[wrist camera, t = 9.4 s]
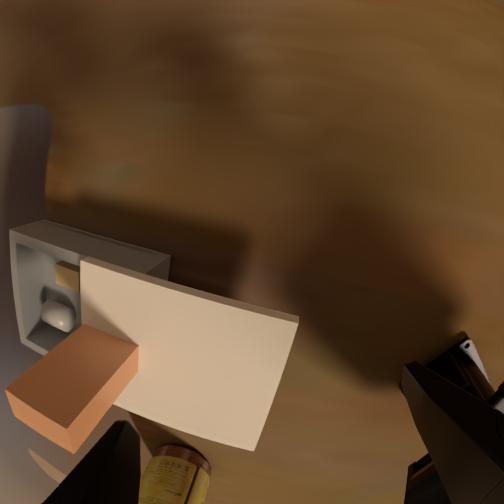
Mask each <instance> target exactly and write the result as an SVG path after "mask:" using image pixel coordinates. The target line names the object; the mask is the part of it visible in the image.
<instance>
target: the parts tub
mask: <svg viewBox="0 0 504 504" xmlns="http://www.w3.org/2000/svg"><path fill="white" fill-rule="evenodd" d="M10 255H11V270H12V282H13V292H14V300H15V308H16V314H17V321H18V327H19V333H20V339H21V343H23V344H24V345H26V346H28V347H29V348H31V349H33V350H34V351H36V352H38V353H40V354H41V355H43V356H44V355H46V354H47V353H48V352H49V351H51V350H52V349H53V348H54V347H55V346H57V345H58V344H59V343H60V342H62V341H63V340H64V339H65V338H67V337H68V336H69V335H70V334H72V333H73V332H74V331H75V330H77V329H78V328H79V327H80V326H82V321H81V293H80V260H82V259H84V258H86V257H88V256H89V257H92V258H95V259H98V260H101V261H104V262H107V263H111V264H114V265H117V266H120V267H123V268H126V269H130V270H133V271H136V272H139V273H143V274H146V275H149V276H153V277H156V278H159V279H163V280H166V281H168V276H169V268H170V260H171V255H169V254H165V253H162V252H158V251H154V250H151V249H147V248H143V247H140V246H136V245H133V244H129V243H125V242H122V241H118V240H115V239H111V238H108V237H104V236H101V235H97V234H94V233H90V232H87V231H83V230H80V229H76V228H73V227H69V226H66V225H63V224H59V223H56V222H52V221H49V220H45V219H42V220H39V221H35V222H32V223H29V224H26V225H22V226H19V227H16V228H13V229H10Z"/></svg>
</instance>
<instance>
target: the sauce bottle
mask: <svg viewBox="0 0 504 504" xmlns="http://www.w3.org/2000/svg"><path fill="white" fill-rule="evenodd" d="M210 474H211V466H210V465H209V463H208V462H207V461H206V460H205V459H204V458H203V457H202V456H201V455H200V454H198V453H196V452H195V451H193V450H190V449H188V448H185V447H182V446H177V445H164V446H162V447H159V448H158V449H157V450H156V452H155V454H154V456H153V458H151V460H150V461H149V463H148V465H147V467H146V469H145V471H144V473H143V475H142V477H141V480H140V489H139V502H138V504H203V502H204V499H205V495H206V492H207V489H208V485H209V481H210V479H209V476H210Z"/></svg>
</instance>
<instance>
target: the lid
mask: <svg viewBox="0 0 504 504" xmlns="http://www.w3.org/2000/svg"><path fill="white" fill-rule="evenodd" d="M80 293H81V321H82V326H80V327H79V328H78V329H77V330H75V331H74V332H73V333H72V334H70V335H69V336H68V337H67V338H65V339H64V340H63V341H62V342H60V343H59V344H58V345H57V346H55V347H54V348H53V349H52V350H51V351H49V352H48V353H47V354H46V355H44V356H43V357H42V358H41V359H40V360H39V361H37V362H36V363H35V364H34V365H32V366H31V367H30V368H29V369H28V370H26V371H25V372H24V373H23V374H22V375H20V376H19V377H18V378H17V379H16V380H15V381H13V382H12V383H11V384H10V385H9V386H8V387H6V388H5V391H6V394H7V397H8V400H9V403H10V405H11V408H12V411H13V413H14V416H15V417H17V418H18V419H19V420H21V421H22V422H24V423H25V424H26V425H28V426H29V427H31V428H33V429H34V430H35V431H37V432H39V433H40V434H41V435H43V436H45V437H46V438H48V439H49V440H51V441H53V442H54V443H56V444H58V445H59V446H61V447H63V448H64V449H66V450H68V451H70V452H71V453H73V454H75V453H76V451H77V450H78V448H79V447H80V446H81V445H82V443H83V442H84V441H85V439H86V438H87V437H88V435H89V434H90V433H91V432H92V430H93V429H94V428H95V426H96V425H97V424H98V422H99V421H100V420H101V419H102V417H103V416H104V415H105V413H106V412H107V411H108V409H109V408H110V407H111V406H112V404H114V405H116V406H119V407H121V408H123V409H125V410H128V411H130V412H133V413H135V414H137V415H140V416H142V417H145V418H148V419H150V420H153V421H155V422H158V423H161V424H163V425H166V426H169V427H172V428H175V429H178V430H181V431H183V432H186V433H190V434H193V435H196V436H199V437H202V438H205V439H209V440H212V441H216V442H219V443H223V444H226V445H230V446H234V447H238V448H242V449H246V450H250V451H254V450H255V447H256V445H257V442H258V439H259V437H260V434H261V432H262V429H263V426H264V424H265V421H266V418H267V415H268V413H269V410H270V407H271V404H272V402H273V399H274V396H275V393H276V390H277V387H278V385H279V382H280V379H281V376H282V373H283V370H284V367H285V364H286V361H287V358H288V355H289V352H290V349H291V346H292V343H293V340H294V337H295V333H296V330H297V327H298V324H299V316H296V315H292V314H288V313H284V312H280V311H276V310H272V309H268V308H264V307H260V306H256V305H252V304H249V303H245V302H241V301H237V300H234V299H230V298H226V297H222V296H219V295H215V294H212V293H208V292H204V291H201V290H197V289H194V288H190V287H187V286H183V285H180V284H176V283H173V282H169V281H166V280H163V279H159V278H156V277H153V276H149V275H146V274H143V273H139V272H136V271H133V270H130V269H126V268H123V267H120V266H117V265H114V264H111V263H107V262H104V261H101V260H98V259H95V258H92V257H89V256H88V257H86V258H84V259H82V260H80Z"/></svg>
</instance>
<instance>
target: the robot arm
mask: <svg viewBox="0 0 504 504" xmlns="http://www.w3.org/2000/svg"><path fill="white" fill-rule="evenodd" d="M466 343H468V344H467V345H466V346H465V344H466ZM399 387H400V390H401V392H402V393H403V395H404V396H405V397H406V399H407V402H408V405H409V408H410V411H411V413H412V416H413V419H414V422H415V425H416V427H417V429H418V432H419V434H420V436H421V438H422V440H423V442H424V444H425V446H426V448H427V450H428V452H429V453H428V454H426V455H425V456H424V457H422V458H421V459H420V460H418V461H417V462H414V463H412V464H411V465H410V466H409V467H408V475H407V484H406V492H405V500H404V504H504V382H503V383H502V384H501V385H500V386H499V387H498V388H499V389H498V390H497V391H496V392H495V391H494V389H493V388H492V386H491V385H490V382H489V380H488V377H487V375H486V372H485V370H484V367H483V365H482V363H481V360H480V358H479V356H478V353H477V351H476V349H475V346H474V344H473V342H472V341H471V339H470V338H468V337H467V338H464V339H462V340H461V341H460V342H458V343H457V344H456V345H454V346H453V347H452V348H450V349H449V350H448V351H446V352H445V353H444V354H442V355H441V356H439V357H438V358H436V359H435V360H434V361H432V362H431V363H429V364H428V365H426V366H423V365H422V364H420V363H418V362H416V361H413V362H410V363H407V364H405V365H404V366H403V370H402V381H401V383H400V385H399ZM140 470H141V469H140V436H139V434H138V432H137V431H136V430H135V429H134V427H133V426H132V425H131V424H130V423H129V421H127V420H118V421H116V422H114V424H113V425H112V426H111V427H110V428H109V429H108V430H107V432H106V433H105V434H104V435H103V436H102V437H101V438H100V439H99V441H98V442H97V443H96V444H95V445H94V446H93V447H92V449H91V450H90V451H89V452H88V453H87V454H86V455H85V456H84V458H83V459H82V460H81V461H80V462H79V463H78V464H77V465H76V467H75V468H74V469H73V470H72V471H71V472H70V473H69V474H68V476H67V477H66V478H65V479H64V480H63V481H62V482H61V483H60V485H59V487H57V488H56V489H55V490H54V491H53V492H52V493H51V495H50V496H49V497H48V498H47V499H46V500H45V501H44V502H43V503H42V504H138V502H139V489H140V477H141V471H140Z"/></svg>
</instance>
